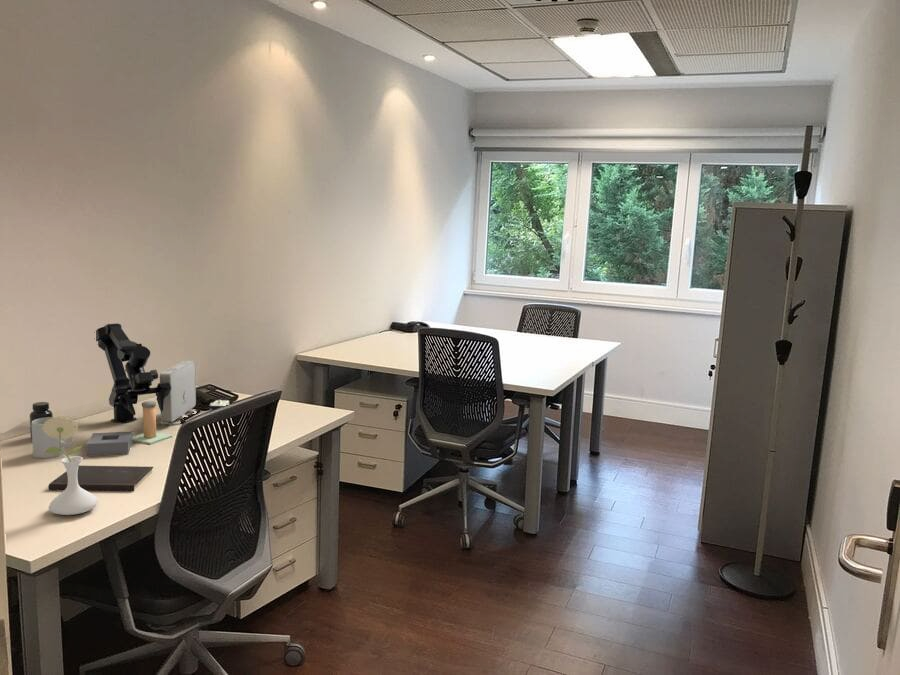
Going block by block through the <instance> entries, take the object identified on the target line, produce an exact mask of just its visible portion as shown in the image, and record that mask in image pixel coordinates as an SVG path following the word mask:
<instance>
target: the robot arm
mask: <svg viewBox="0 0 900 675" xmlns="http://www.w3.org/2000/svg"><path fill="white" fill-rule="evenodd" d="M95 331H96V341H95V342H97V341H98V344H97V346H98V348H100V349H101V350H102V351H104V354H105V358H106V360H107V365H108V367H109V370H110V373H111V376H112V379H113V386H112V389H111V392H110V393H109V394H110V395H109V397H108V402H109V405H110V406H112V407H113V418H111V419H110V421H111V422H115V423H120V422H121V423H122V424H125V423H128V422H132V421H135V419H136V420H137V417H135V416H136V409H135V407H134V405H137V404H138V399H139V398H138V397H139V396H142V395H150V394H151V395H152V394H155V396H156V398H155V399H156V403H157V405H158V408H159V410H160V413H161V412H162V411H163V403H164V398H165V397H166V396H168V395H169V393H170V391H171V388H172V387H171V384H170V383H168V382H165V383H160V382H158V383H157V385H156V386H155V387H151V386H152V385H153V382H154V381H155V380H158V378H159V373H158V370H157V369H151V370H149V371H147V372H146V370H145V368H144V367H145V366H146V365H147V363H148V361H149V358H150V356H151V351H150V349H149V348H148V347H146V346H145V345H142V344H143V343H137V342H135V341H132V340H131V339H129V337H128V335H127V334H126V333H125V331H124V330H123V328H122V324H120V323H119V322H117V323H107V324H105V325H104V326H102V327H99V328H97V329H96V330H95ZM124 362H126V364H125V365H124V364H123V363H124ZM121 423H120V424H121Z"/></svg>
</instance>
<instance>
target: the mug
mask: <svg viewBox="0 0 900 675" xmlns="http://www.w3.org/2000/svg"><path fill="white" fill-rule="evenodd" d="M54 417H55V418H57V417H58V416H54ZM48 419H49V420H50V419H52V417H46V418H39V419H36V420H33V421H32V439H31V440H32V441H31V443H32V456H33V457H34V458H36V457H37V459H51V458H56V457H59V456H62V455H63V454H64V453H63V452H62V451H60V452H59V453H58V454H50V453H44V452H45V451H46V450H47V449H48V448H50V447H56V448H60V446H59V439H57V437H55V438H52V437H49V436H47V434H46V433H44V430H43V429H42V427H44V426H43V425H44V424H45V421H47V420H48ZM73 440H74V436H71V437H70V438H68V441H64V439H61V448H62V449H63V451H64V448H66V447H70V446H71V445H72V444H73ZM64 452H65V451H64Z"/></svg>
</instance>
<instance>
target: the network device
mask: <svg viewBox="0 0 900 675" xmlns="http://www.w3.org/2000/svg"><path fill="white" fill-rule="evenodd" d="M196 376H197V375H196V361H195V360H183V361H181V362H179V363H177V364H175V365H173V366H171V367H169V368H167V369H165V370H164V371H162V372H160V374H159V383H165V382H168V383H170V384H171V387H172V388H171V391H170V393H169V395H168V396H166V397H165V398H164V403H163V411H162V412H161V411H160V420H159V424H160V423H161V424H160V425H164V424H169V425H168V426H170V425H171V426H180V425H181V424H180V423H181V421H178V422H177V421H176V420H184V419H183V418H184V417H188V415H186V414H187V413H191V414H196V413H197V411H196V410H194V409H193V408H194V407H195V406H196V405H197V404H196V403H197V391H196V390H197V385H196V383H197V382H196V379H197V378H196ZM191 409H193V410H191ZM192 412H194V413H192ZM197 414H198V413H197ZM197 414H196V415H197ZM175 421H176V422H175Z"/></svg>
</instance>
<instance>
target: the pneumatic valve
mask: <svg viewBox="0 0 900 675" xmlns="http://www.w3.org/2000/svg"><path fill="white" fill-rule="evenodd" d="M226 405H229V406H230V399H215V401H213V402H210V403H209V410H208V411H211V410H214V409H217V408H220V407H223V406H226Z"/></svg>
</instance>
